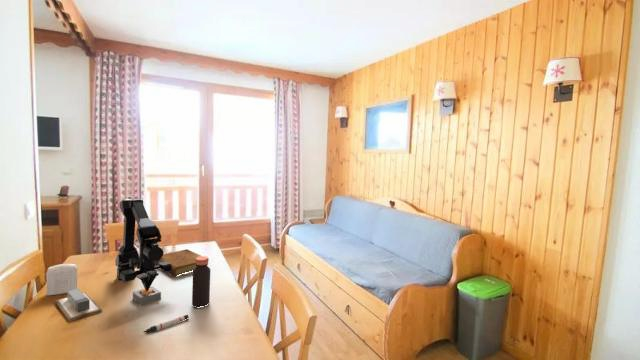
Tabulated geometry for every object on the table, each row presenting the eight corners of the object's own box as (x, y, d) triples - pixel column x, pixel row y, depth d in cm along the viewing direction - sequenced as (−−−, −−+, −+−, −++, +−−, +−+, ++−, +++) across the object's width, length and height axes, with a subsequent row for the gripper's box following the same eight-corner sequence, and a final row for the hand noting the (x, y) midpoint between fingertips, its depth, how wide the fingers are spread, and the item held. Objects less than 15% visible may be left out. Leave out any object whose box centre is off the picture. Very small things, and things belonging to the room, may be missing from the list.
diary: (153, 266, 169) (153, 256, 168) (186, 258, 184) (186, 249, 183) (174, 278, 155) (174, 267, 154) (208, 269, 169) (208, 258, 169)
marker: (186, 318, 119) (186, 313, 119) (188, 320, 118) (188, 315, 118) (142, 333, 108) (142, 328, 108) (144, 336, 107) (144, 330, 106)
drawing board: (85, 294, 132) (85, 292, 132) (101, 311, 120) (101, 308, 120) (55, 302, 124) (55, 300, 124) (69, 321, 112) (69, 318, 112)
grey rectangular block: (78, 296, 128) (78, 288, 127) (89, 308, 119) (89, 299, 119) (67, 299, 125) (67, 291, 125) (77, 312, 116) (77, 303, 116)
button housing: (152, 292, 137) (152, 286, 137) (160, 299, 132) (160, 292, 132) (132, 298, 131) (132, 292, 131) (140, 305, 126) (140, 298, 126)
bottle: (190, 309, 125) (192, 261, 124) (193, 301, 132) (194, 255, 130) (208, 308, 127) (210, 260, 126) (209, 300, 134) (211, 255, 132)
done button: (149, 293, 134) (149, 287, 134) (153, 296, 132) (153, 290, 132) (139, 296, 131) (139, 290, 131) (143, 299, 129) (143, 293, 129)
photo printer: (78, 288, 138) (77, 261, 137) (77, 292, 134) (76, 264, 133) (47, 292, 132) (47, 264, 131) (45, 297, 128) (45, 268, 127)
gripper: (161, 245, 142) (160, 278, 144) (114, 254, 128) (114, 291, 129) (173, 251, 136) (172, 286, 137) (125, 261, 121) (125, 300, 122)
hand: (146, 290), depth 131 cm, fingers closed, pressing on done button
